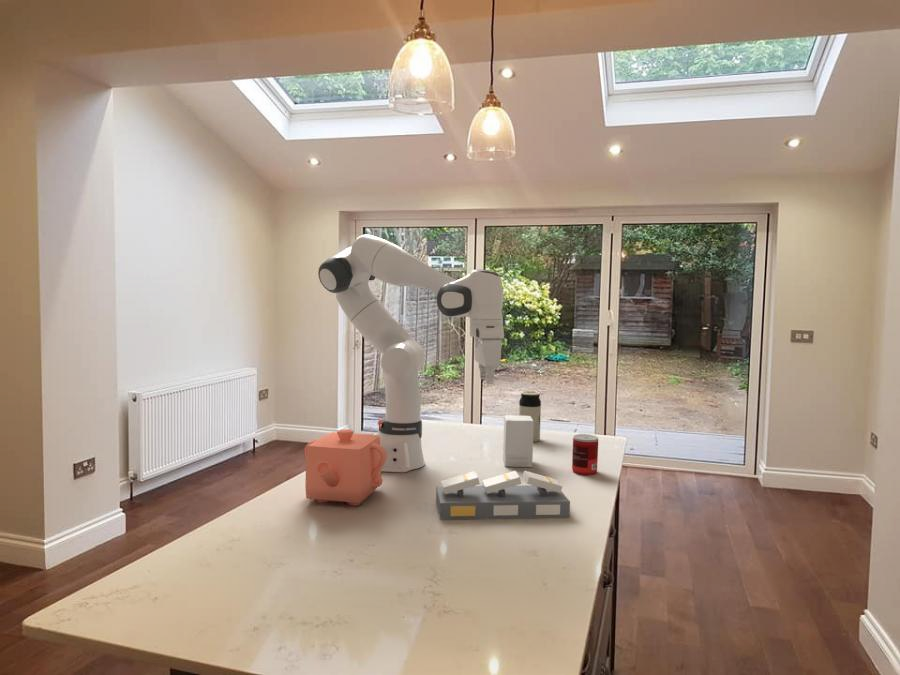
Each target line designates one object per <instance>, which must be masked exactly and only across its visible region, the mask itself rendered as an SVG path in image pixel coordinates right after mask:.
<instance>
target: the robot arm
mask: <svg viewBox="0 0 900 675" xmlns="http://www.w3.org/2000/svg"><path fill="white" fill-rule="evenodd" d="M317 274H318V279H319V282H320V284H321V285H322V286H323V288H324V289H325V290H327V291H328V292H330V293H331V294H335V297H336V300H337V303H338V304H339V306H340V308H341V310H342V311H343V313H344V314H345V316H346V318H348V319H349V322H351V324H352V325H353V326H354V328H355V329H357V331H358V332H359V333H360V335H361V336H362V338H364V339H365V341H366V342H367V343H369V344H370V345H371V346H372V347H374V349H376V350H377V351H378V352H379V353H380V354H381V355H382V356H381V360H380V366H381V369H382V377H383V378H382V379H383V385H384V392H385V393H384V394H385V419H383V418H379V419H378V420H377V425H378V432H376V433H375V434H374V435H379V436H380V444H381V446H382V447H383V448H384V450H385V451H386V455H387V456H386V461H385V463H384V465H383V467H382V468H381V472H385V473H386V472H387V473H388V472H389V473H406V472H407V473H408V472H409V471H411V470H416V469H417V470H418V469H419V468H422V467H424V466H425V465H426V461H425V458H424V453H423V447H422V436H423V423H422V422H423V421H422V419H421V415H422V412H421V410H422V407H421V406H422V397H421V396H422V395H421V394H422V393H421V391H420V390H421V389H420V383H419V380H420V379H419V370H420V369H421V368H422V367H423V365H424V363H425V359H426V358H425V357H426V356H425V350H424V348H423V347H422V345H420V344H419V343H418V342H417V341H416V339H415V338H414V337H413V336H412V335H411V334H410V333H409V332H408V331H407V330H406V329H405V328H404V327H403V326H402V325H401V324H399V322H398V321H397V320H396V319H395V318H394V316H392V314H391V313H390V312H389V310H387V308H386V307H385V306H384V305H383V303H382V302H381V301H380V300H379V299H378V298H377V296H376V295H375V294H374V292H372V290H371V289H370V285H369V281H374V280H375V279H377V280H380V281H382V282H384V283H386V284H390V285H392V286H393V285H394V286H397V287H412V288H414V287H415V288H421V289H425V290H428V291H431V292H432V293H435V294H436V306H437V308H438V310H439V312H440V313H441V314H442V315H444V316H445V317H449V318H469V337H471V338H474V361H476V362H477V363H478V369H479V378H480V379H481V380H485V383H486V385H493V384H494V377H495V372H496V370H495V369H498V368H500V364H501V358H502V342H503V340H502V339H504V338H505V330H504V317H503V312H502V309H503V308H502V307H503V304H504V292H503V282H502V278H501V275H500V274H499V272H496V271H493V270H488V269H481V268H475V269H473V270H471V271H470V273H468V274H467V275H465V276H464V277H462V278H459V279H457V278H455V277H453V276H450V275H448V274H446V273H444V272H442V271H440V270H438V269H436V268H434V267H432V266H430V265H428V264H426V263H425V262H423V261H422V260H420V258H417V257H416V256H414V255H412V254H411V253H409V252H408V251H407V250H405V249H404V248H402V247H401V246H399V245H397V244H395V243H393V242H390V241H388V240H386V239H385V238H384V239H383V238H380V237H378V236H374V235H371V234H362V235H360V236H358V237H357V238H355V239H354V241H353V243H352V244H351V246H348V247H347V248H344V249H342V250H341V251H339V252H337V253H336V254H335V255H333V256H332V257H329V258H327V259H326V260H325V261H324V262H322V263H321V264H320V265H319V267H318V273H317Z"/></svg>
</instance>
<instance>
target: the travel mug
mask: <svg viewBox="0 0 900 675" xmlns="http://www.w3.org/2000/svg"><path fill="white" fill-rule="evenodd" d="M519 394H520V396H521V397H520V399H519V401H518V402H519V403H518V404H519V405H518V416H531V418H532V420H533V421H534V429H533V443H536V442H538V441H540V440H541V416H542V414H541V413H542V410H541V408H542V401H541V399H540V395H541V392H539V391H536V390H521V391H520V392H519Z"/></svg>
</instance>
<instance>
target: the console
mask: <svg viewBox="0 0 900 675" xmlns="http://www.w3.org/2000/svg"><path fill="white" fill-rule="evenodd" d="M435 502H436V507H437V512H438V515H439V520H472V519H473V520H474V519H475V520H476V519H477V520H478V519H482V518H483V519H482V520H484V519H485V518H486V519H534V518H535V519H540V518H541V519H543V518H548V519H549V518H550V519H551V518H570V515H571V512H570V511H571V501H570V500H569V499H568V497H567V496H566V494H564V492H563V491H562V490H561V493H559V492H555V491H551V490H548V489H544V488H541V487H537V486H533V485H530V484H527V485H523V484H519V485H516V486H512V487H509V488H505V489H502V490H499V491H495V492H492V493H488V494H487V493H486V491H485V489H484V486H483V485H476V486H472V487H469V488H465V489H462V490H458V491H455V492H452V493H448V494H445V493H444V489H443V485H442V486H436V488H435Z"/></svg>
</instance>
